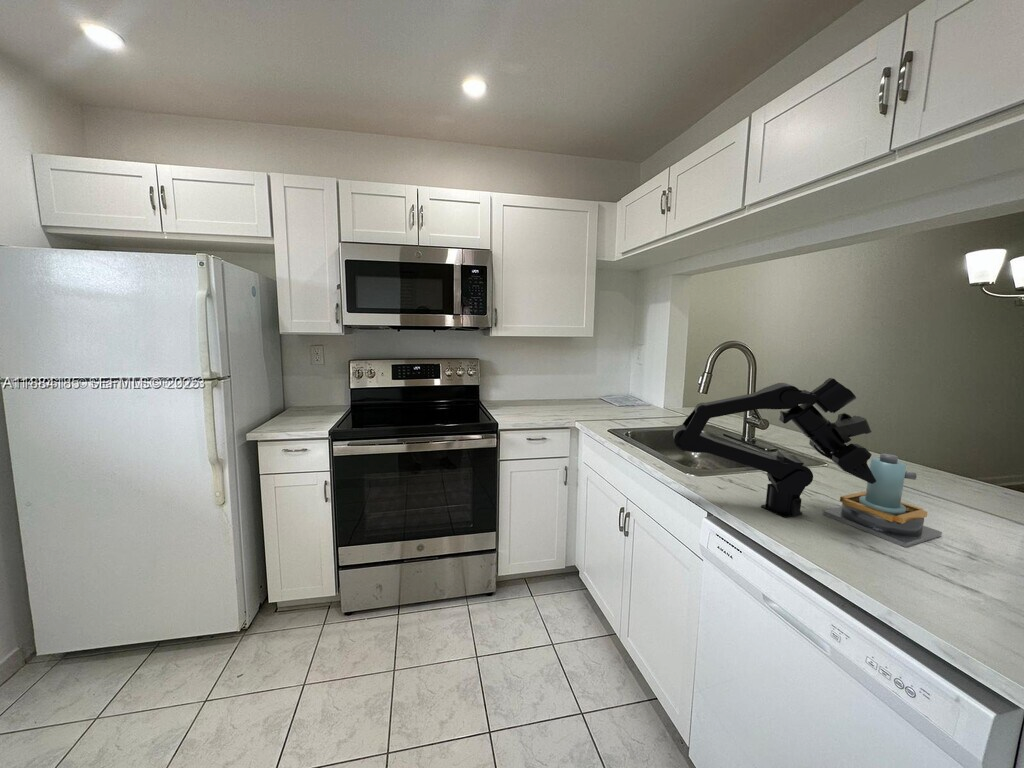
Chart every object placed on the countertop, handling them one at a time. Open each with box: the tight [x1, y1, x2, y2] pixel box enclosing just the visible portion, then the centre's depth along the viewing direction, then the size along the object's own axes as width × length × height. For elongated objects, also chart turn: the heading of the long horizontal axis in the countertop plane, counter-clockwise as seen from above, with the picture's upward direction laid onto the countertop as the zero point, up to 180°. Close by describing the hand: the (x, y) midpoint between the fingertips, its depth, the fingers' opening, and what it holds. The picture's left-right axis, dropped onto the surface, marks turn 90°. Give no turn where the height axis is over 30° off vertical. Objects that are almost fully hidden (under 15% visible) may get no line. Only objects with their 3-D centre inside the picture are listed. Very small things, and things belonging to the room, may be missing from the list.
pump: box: [859, 453, 917, 516], centre depth 91 cm, size 9×8×13 cm
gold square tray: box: [822, 491, 943, 548], centre depth 93 cm, size 16×14×5 cm
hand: (864, 475), depth 93 cm, fingers open, 9 cm apart
